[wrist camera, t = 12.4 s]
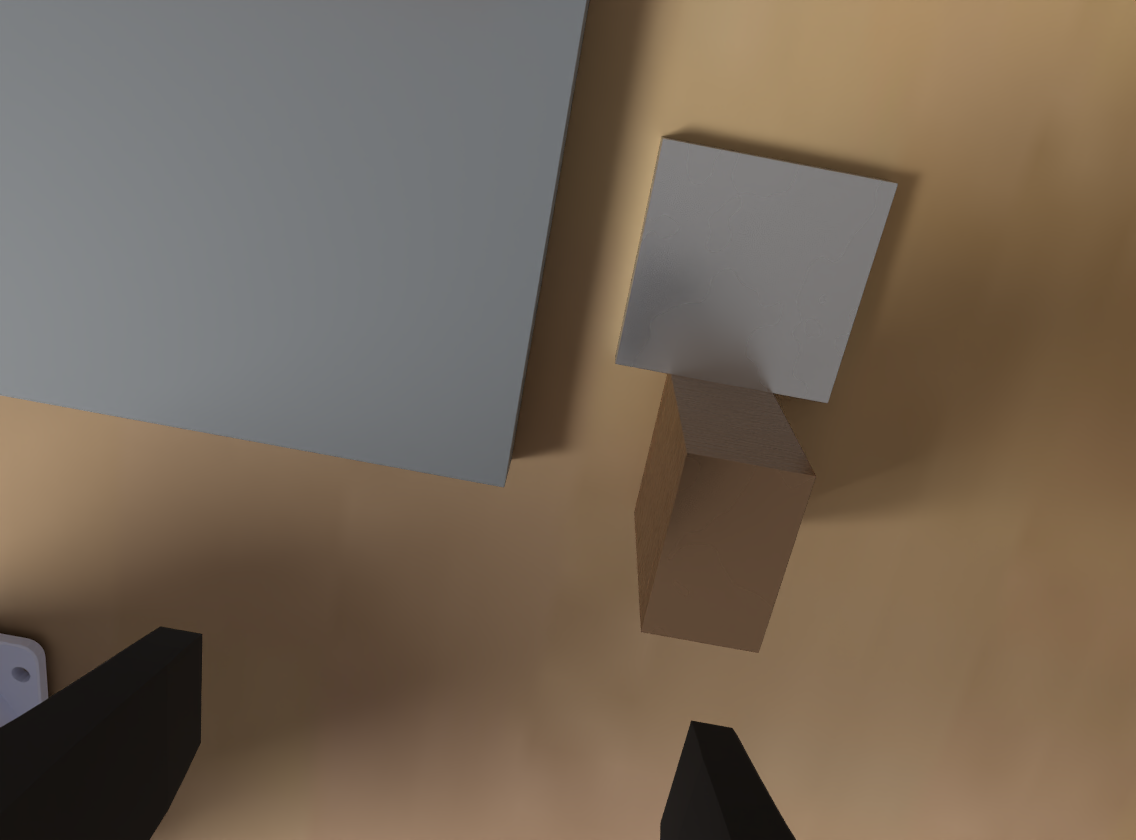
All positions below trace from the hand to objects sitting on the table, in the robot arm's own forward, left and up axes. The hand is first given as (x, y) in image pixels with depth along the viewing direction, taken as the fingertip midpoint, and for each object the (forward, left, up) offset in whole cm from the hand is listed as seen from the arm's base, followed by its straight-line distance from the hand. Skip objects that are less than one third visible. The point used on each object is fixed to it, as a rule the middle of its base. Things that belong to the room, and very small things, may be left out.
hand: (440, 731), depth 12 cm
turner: (+3, -5, -10) cm, 11 cm away
